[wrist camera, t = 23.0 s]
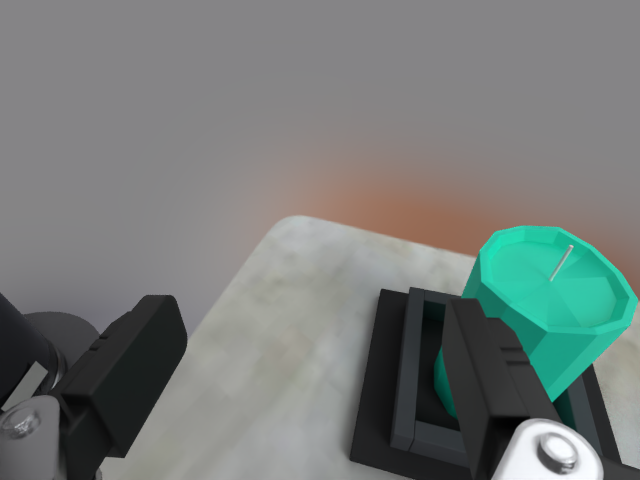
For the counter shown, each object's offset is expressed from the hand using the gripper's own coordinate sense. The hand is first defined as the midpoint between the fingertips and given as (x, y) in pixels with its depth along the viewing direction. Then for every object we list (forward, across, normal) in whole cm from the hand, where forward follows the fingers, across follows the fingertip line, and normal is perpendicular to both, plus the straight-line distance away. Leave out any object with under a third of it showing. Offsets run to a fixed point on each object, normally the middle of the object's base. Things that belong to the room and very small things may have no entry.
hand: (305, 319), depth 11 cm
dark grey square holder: (+8, -9, +13) cm, 18 cm away
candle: (+8, -9, +12) cm, 17 cm away
